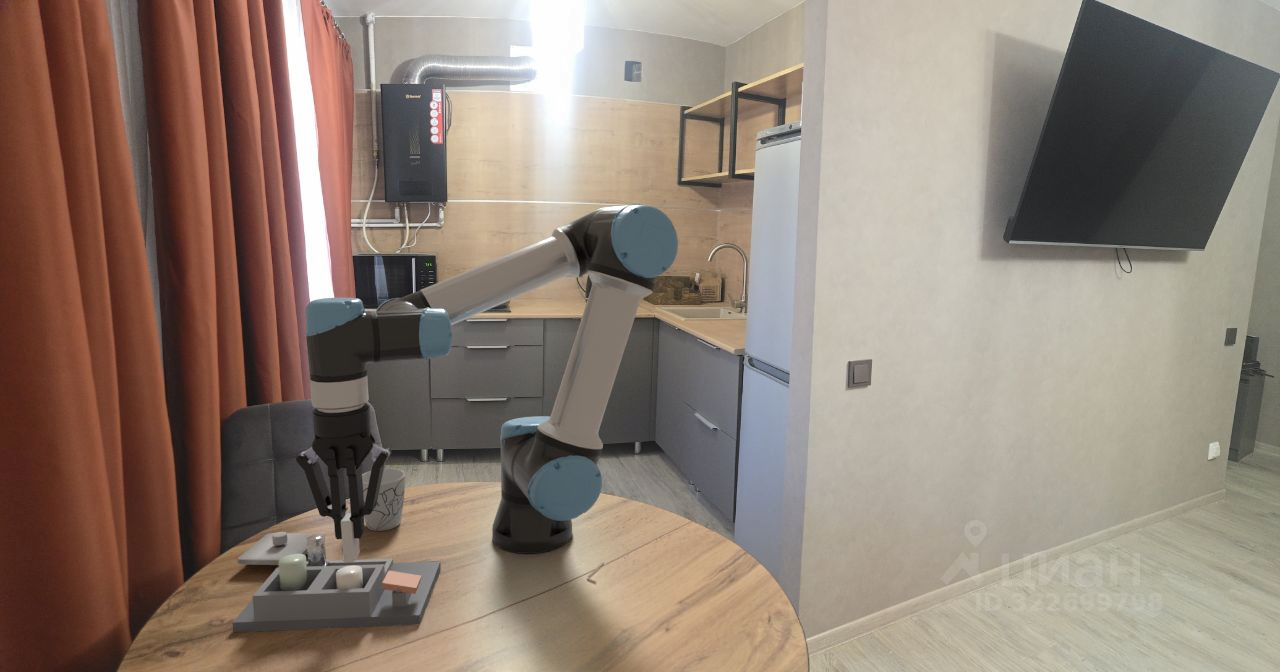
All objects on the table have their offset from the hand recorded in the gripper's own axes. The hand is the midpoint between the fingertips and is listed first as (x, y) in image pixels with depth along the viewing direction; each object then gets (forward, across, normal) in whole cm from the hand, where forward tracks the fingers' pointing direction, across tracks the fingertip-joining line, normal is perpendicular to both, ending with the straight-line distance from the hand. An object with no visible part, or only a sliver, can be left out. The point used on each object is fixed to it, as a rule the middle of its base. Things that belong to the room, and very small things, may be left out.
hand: (351, 557), depth 98 cm
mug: (+9, +4, -32) cm, 33 cm away
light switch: (+9, +18, -17) cm, 26 cm away
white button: (+6, +1, 0) cm, 6 cm away
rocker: (+5, -7, 0) cm, 8 cm away
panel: (+9, +3, -4) cm, 10 cm away
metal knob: (+7, +9, -9) cm, 14 cm away
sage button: (+4, +9, 0) cm, 9 cm away
